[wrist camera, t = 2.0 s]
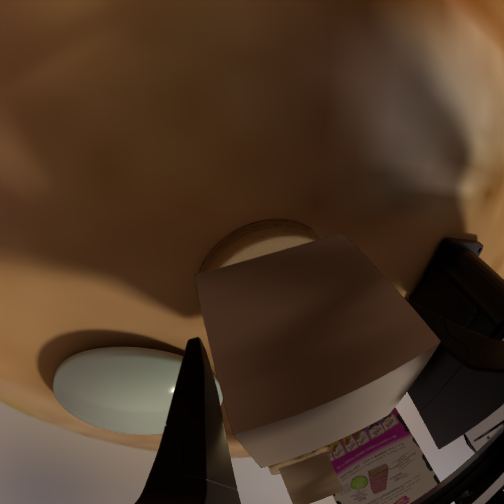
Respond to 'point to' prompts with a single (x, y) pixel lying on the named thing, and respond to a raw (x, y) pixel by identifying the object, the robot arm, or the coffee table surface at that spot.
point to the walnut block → (309, 346)
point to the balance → (255, 245)
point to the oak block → (311, 479)
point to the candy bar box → (381, 465)
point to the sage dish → (120, 388)
